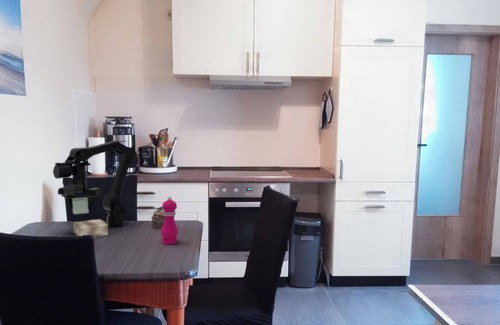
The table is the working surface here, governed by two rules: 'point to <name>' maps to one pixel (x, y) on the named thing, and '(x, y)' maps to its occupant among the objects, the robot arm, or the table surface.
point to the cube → (80, 205)
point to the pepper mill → (169, 222)
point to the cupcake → (158, 218)
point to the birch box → (90, 228)
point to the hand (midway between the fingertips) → (80, 209)
